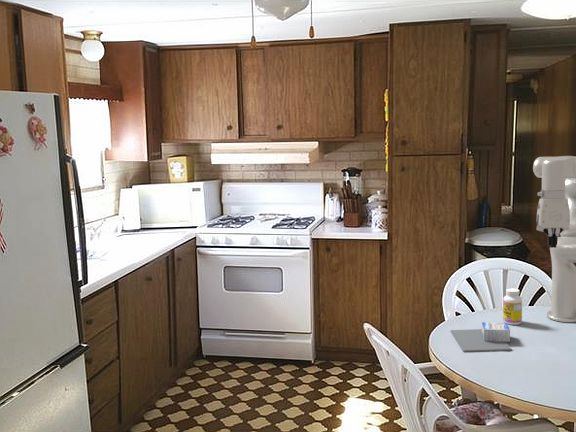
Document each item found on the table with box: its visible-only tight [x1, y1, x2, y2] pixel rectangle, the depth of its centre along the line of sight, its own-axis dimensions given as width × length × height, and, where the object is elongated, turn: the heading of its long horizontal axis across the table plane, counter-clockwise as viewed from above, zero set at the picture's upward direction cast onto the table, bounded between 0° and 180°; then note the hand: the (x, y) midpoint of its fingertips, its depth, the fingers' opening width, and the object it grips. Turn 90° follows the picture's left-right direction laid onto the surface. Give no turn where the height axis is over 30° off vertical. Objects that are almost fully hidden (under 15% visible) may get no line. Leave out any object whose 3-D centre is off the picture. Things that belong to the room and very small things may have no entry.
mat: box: [450, 328, 512, 353], centre depth 217 cm, size 20×16×1 cm
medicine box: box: [481, 321, 511, 343], centre depth 217 cm, size 8×4×9 cm
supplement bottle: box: [502, 287, 523, 326], centre depth 232 cm, size 7×7×13 cm
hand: (552, 246), depth 214 cm, fingers closed
